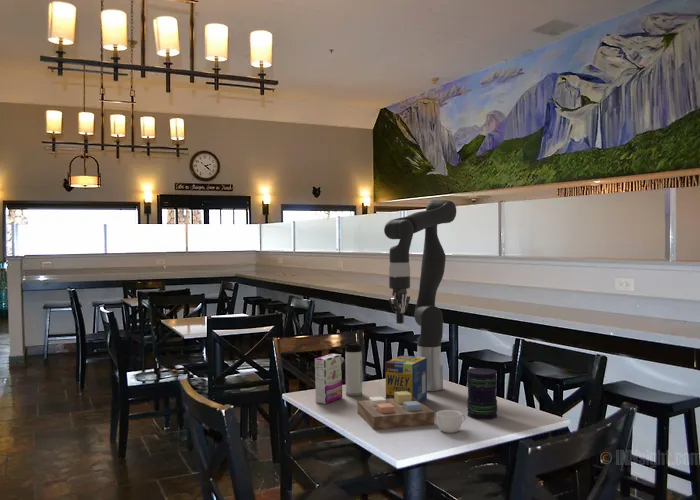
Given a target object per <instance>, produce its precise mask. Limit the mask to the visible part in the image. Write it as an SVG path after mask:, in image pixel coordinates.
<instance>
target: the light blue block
mask: <svg viewBox="0 0 700 500" xmlns="http://www.w3.org/2000/svg"><path fill="white" fill-rule="evenodd" d="M403 409H405V410H406V411H419V410H421V404H420V403H418V402H417V401H409V402H403Z"/></svg>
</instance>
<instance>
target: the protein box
mask: <svg viewBox="0 0 700 500" xmlns="http://www.w3.org/2000/svg"><path fill="white" fill-rule="evenodd" d="M401 391H408V392H409V393H411V394H412V397H414V398H415V399H417V400H418V401H419V402H421V403H422V402H424V401H426V400H427V399H428V391H427V358H425V357H417V356H412V355H404V354H401V355H400V356H396V357H395V358H392V359H390V360H388V361H386V362H385V399H391V398H394V392H401Z"/></svg>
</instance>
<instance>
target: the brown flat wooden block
mask: <svg viewBox="0 0 700 500" xmlns="http://www.w3.org/2000/svg"><path fill="white" fill-rule="evenodd" d="M385 399H386V398H385ZM412 401H417V402H418V403H420V404H421V410H419V411H406V410H405V409H403V404H397V403H396V402H394V398H391V399H386V403H391V404H392V405H393V406H394V407H395V413H382V414H380V413H379V412H378V411H377V406H371V405H370V404H369V399H368V400H367V399H366V400H365V399H364V400H358V401H356V402H357V404H356V405H357V407H356V408H357V414H358V415H359V416H360V417H361V418H362V419H363V420H364V421H365V422H366V423H367V424H368V425H369V426H370V427H371V428H372V430H374V431H376V430H385V429H386V430H387V429H396V428H397V429H398V428H399V429H400V428H409V427H410V428H411V427H420V426H431V425H432V426H433V425H435V411H434V410H433V409H430V407H428V406H427V405H426V404H424V403H422V402H419V401H418V400H417V399H415V398H414V397H412Z"/></svg>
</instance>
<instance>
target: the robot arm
mask: <svg viewBox="0 0 700 500" xmlns="http://www.w3.org/2000/svg"><path fill="white" fill-rule="evenodd" d="M456 216H457V206H456V204H455V202H454V201H451V200H447V199H446V200H445V199H431V200H429V201H428V203H427V205H426V208H425V210H422V211H416V212H414V213H411V214H407V216H403V217H397V218H393V219H390V220H389V221H387V222H386V223H385V225H384V227H383V232H384V235H385V237H386V238H388V239H390V240H399V241H398V243H397V244H396V245H394V246H392V247H390V248H389V265H388V266H389V267H388V288H389V289H392V294H391V295H392V297H391V298H389V299H388V302H389V304H390V307H391V310H392V312H395V314H396V324H399V325H402V324H404V323H405V319H404V318H405V316H404V315H405V314H404V313H405V312H406V311H407V310H408V308H409V303H410V300H411V296H409V295H408V289H410V288H411V267H410V249H411V245H412V240H413V236H414V234H416V233H418V232H421V231H422V230H424V242H423V253H422V259H421V268H420V278H419V279H420V280H419V288H418V296H417V300H416V304H415V309H414V315H413V316H414V320H415V322H416V324H417V325H418V326H419V327H420V335H419V337H417V341H416V343H417V345H416V346H417V349H416V350H417V352H416V353H417V356H416V357H425V358H427V392H437V391H441V390H444V366H443V364H442V352H441V350H442V349H441V348H442V344H441V343H442V339H443V332H444V317H443V316H444V315H443V312H442V310H441V309H440V308H439V307H437V306H436V296H437V292H438V288H439V287H440V284H441V282H442V280H443V277H444V274H445V269H446V260H447V259H446V258H447V257H446V253H445V250H444V248H443V245H442V243H441V242H440V239H439V235H438V226H439V225H442V224H451V223H452V222H453V221H454V220H455V218H456Z"/></svg>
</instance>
